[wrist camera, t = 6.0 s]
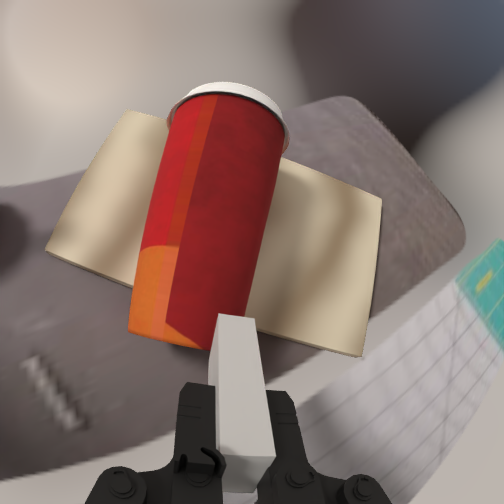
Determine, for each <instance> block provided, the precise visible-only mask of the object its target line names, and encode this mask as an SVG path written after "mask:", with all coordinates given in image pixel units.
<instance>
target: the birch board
mask: <svg viewBox="0 0 504 504" xmlns="http://www.w3.org/2000/svg"><path fill="white" fill-rule="evenodd" d="M168 134H169V130H168V127H167V122H166V119H162V118H159V117H155V116H151V115H148V114H144V113H140V112H136V111H132V110H128V109H127V110H126V111H125V113H124V114H123V115H122V117H121V118H120V120H119V121H118V122H117V124H116V125H115V127H114V128H113V130H112V131H111V133H110V134H109V136H108V137H107V139H106V140H105V142H104V143H103V145H102V146H101V148H100V149H99V151H98V153H97V154H96V156H95V157H94V159H93V161H92V162H91V164H90V165H89V167H88V169H87V170H86V172H85V174H84V175H83V177H82V179H81V180H80V182H79V184H78V186H77V187H76V189H75V191H74V193H73V195H72V196H71V198H70V200H69V202H68V204H67V206H66V207H65V209H64V211H63V213H62V215H61V217H60V219H59V221H58V223H57V225H56V227H55V229H54V231H53V233H52V235H51V237H50V239H49V241H48V243H47V246H46V248H45V251H46V252H47V253H48V254H49V255H52V256H54V257H56V258H59V259H61V260H63V261H66V262H68V263H70V264H73V265H75V266H78V267H80V268H82V269H85V270H87V271H90V272H92V273H95V274H97V275H100V276H102V277H105V278H107V279H110V280H112V281H115V282H117V283H120V284H122V285H125V286H128V287H130V288H133V285H134V279H135V273H136V268H137V262H138V257H139V252H140V247H141V242H142V237H143V232H144V227H145V223H146V218H147V214H148V209H149V205H150V201H151V197H152V193H153V189H154V185H155V181H156V177H157V173H158V169H159V166H160V162H161V158H162V155H163V151H164V147H165V144H166V141H167V137H168ZM381 203H382V199H380V198H378V197H376V196H374V195H372V194H369V193H367V192H365V191H363V190H360V189H358V188H356V187H354V186H351V185H349V184H347V183H344V182H342V181H340V180H337V179H335V178H332V177H330V176H328V175H325V174H323V173H320V172H318V171H315V170H313V169H310V168H308V167H305V166H303V165H300V164H298V163H295V162H292V161H290V160H287V159H285V158H282V157H281V160H280V165H279V170H278V175H277V180H276V185H275V189H274V193H273V197H272V202H271V206H270V210H269V214H268V218H267V222H266V226H265V230H264V234H263V239H262V243H261V247H260V252H259V256H258V260H257V265H256V269H255V274H254V278H253V282H252V286H251V291H250V295H249V299H248V303H247V308H246V312H245V316H244V317H248V318H254V319H255V326H256V331H260V332H263V333H266V334H270V335H273V336H277V337H280V338H283V339H287V340H290V341H294V342H298V343H301V344H305V345H308V346H312V347H316V348H320V349H323V350H327V351H331V352H335V353H339V354H343V355H347V356H351V357H362V352H363V346H364V341H365V336H366V330H367V324H368V318H369V312H370V306H371V299H372V292H373V285H374V277H375V269H376V260H377V251H378V241H379V230H380V218H381Z"/></svg>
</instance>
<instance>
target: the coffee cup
mask: <svg viewBox="0 0 504 504" xmlns="http://www.w3.org/2000/svg"><path fill="white" fill-rule="evenodd" d="M166 122H167V127H168V130H169V134H168V137H167V141H166V144H165V147H164V151H163V155H162V158H161V162H160V166H159V169H158V173H157V177H156V181H155V185H154V189H153V193H152V197H151V201H150V205H149V209H148V214H147V218H146V223H145V227H144V232H143V237H142V242H141V247H140V252H139V257H138V262H137V268H136V273H135V279H134V285H133V291H132V298H131V306H130V313H129V323H128V332H130V333H133V334H136V335H140V336H143V337H147V338H151V339H155V340H159V341H163V342H168V343H172V344H177V345H181V346H186V347H191V348H197V349H202V350H208V351H211V347H212V342H213V338H214V333H215V328H216V323H217V318H218V313H220V314H226V315H233V316H240V317H244V316H245V312H246V308H247V303H248V299H249V295H250V291H251V286H252V282H253V278H254V274H255V269H256V265H257V260H258V256H259V252H260V247H261V243H262V239H263V234H264V230H265V226H266V222H267V218H268V214H269V210H270V206H271V202H272V197H273V193H274V189H275V185H276V180H277V175H278V170H279V165H280V160H281V155H282V154H283V153H284V151H285V150H286V149H287V147H288V144H289V139H290V137H289V130H288V128H287V125H286V123H285V122H284V120H283V118H282V112H281V111H280V109H279V108H278V106H277V105H276V103H274V101H273V100H272V99H270V98H269V97H268V96H267V95H265V94H264V93H262V92H260V91H259V90H256V89H254V88H252V87H249V86H246V85H243V84H239V83H233V82H213V83H207V84H204V85H201V86H199V87H197V88H195V89H193V90H192V91H190V92H189V93H188V95H187V96H186V97H184V98H182V99H181V100H180V101H178V102H177V103H176V104H175V105H174V106H173V108H172V109H171V112H170V114H169V116H168V118H167V120H166Z"/></svg>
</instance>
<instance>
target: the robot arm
mask: <svg viewBox="0 0 504 504" xmlns="http://www.w3.org/2000/svg"><path fill="white" fill-rule="evenodd" d="M256 488H257V493H258V500H257V501H256V502H255V504H392V503H391V501H390V500H389V498H388V497H387V495H386V494H385V492H384V491H383V489H382V488H381V486H380V484H379V483H378V482H377V481H376V480H375V479H374V478H372V477H370V476H368V475H363V474H358V475H353V476H352V477H350V478H349V479H347V480H342V479H337V478H332V477H328V476H324V475H322V474H320V473H318V472H316V470H315V469H314V468H313V467H311V466H310V464H309V463H308V460H307V458H306V453H305V449H304V445H303V440H302V436H301V432H300V428H299V425H298V419H297V416H296V410H295V406H294V402H293V401H292V399H291V398H290V396H289V395H288V394H287V392H286V391H273V390H265V384H264V377H263V371H262V365H261V358H260V352H259V345H258V339H257V332H256V326H255V319H254V318H248V317H240V316H233V315H226V314H220V313H218V318H217V323H216V328H215V333H214V338H213V342H212V347H211V352H210V357H209V369H208V385H204V384H197V383H190V382H187V383H186V384H185V386H184V387H183V388H182V390H181V391H180V395H179V403H178V412H177V422H176V433H175V445H174V455H173V458H172V460H171V461H170V463H169V464H168V465H166V466H165V467H163V468H161V469H158V470H154V471H147V472H138V473H137V472H135V471H134V470H132V469H130V468H126V467H122V466H119V467H111V468H109V469H107V470H105V471H104V472H103V473H102V474H101V475H100V476H99V478H98V480H97V481H96V483H95V485H94V487H93V489H92V491H91V493H90V495H89V496H88V498H87V500H86V502H85V504H223V494H222V492H233V493H253V492H254V491H255V489H256Z"/></svg>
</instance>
